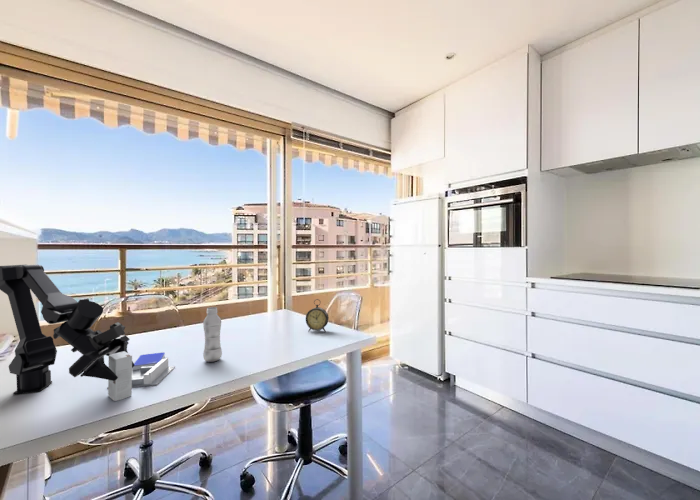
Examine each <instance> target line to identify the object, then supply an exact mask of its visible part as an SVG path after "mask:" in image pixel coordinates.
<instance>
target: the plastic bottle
mask: <svg viewBox="0 0 700 500" xmlns="http://www.w3.org/2000/svg"><path fill="white" fill-rule="evenodd" d="M202 325H203V331H204V348H203V353H202V354H203V359H204V361H205V362H209V363H212V362H216V361H219V360H221V358H222V356H223V351H222V350H223V349H222V347H221V345H222V343H221V328H222V319H221V317H220V316H219V315H218V307H216V306H212V307H211V306H210V307H207V308H206V316H205V318H204V319H203V322H202Z"/></svg>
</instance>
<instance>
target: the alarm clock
mask: <svg viewBox="0 0 700 500" xmlns="http://www.w3.org/2000/svg"><path fill="white" fill-rule="evenodd" d="M316 301H319V304H316V303H315V302H316ZM313 304H314V305H315V307H313V308H312V309H309V311H308V312H307V313H306V315H305V323H306V325H307V327H308V328H309V329H308V332H310V331H316V332H317V331H321V330H323V331H324V333H326V332H327V331H326V329H325V327H326V326H327V325H328V323H329V313H328V312H327V310H326V309H324V308H322V307H319V306H320V305H321V300H320V299H319V298H316V299H314V300H313Z"/></svg>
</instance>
